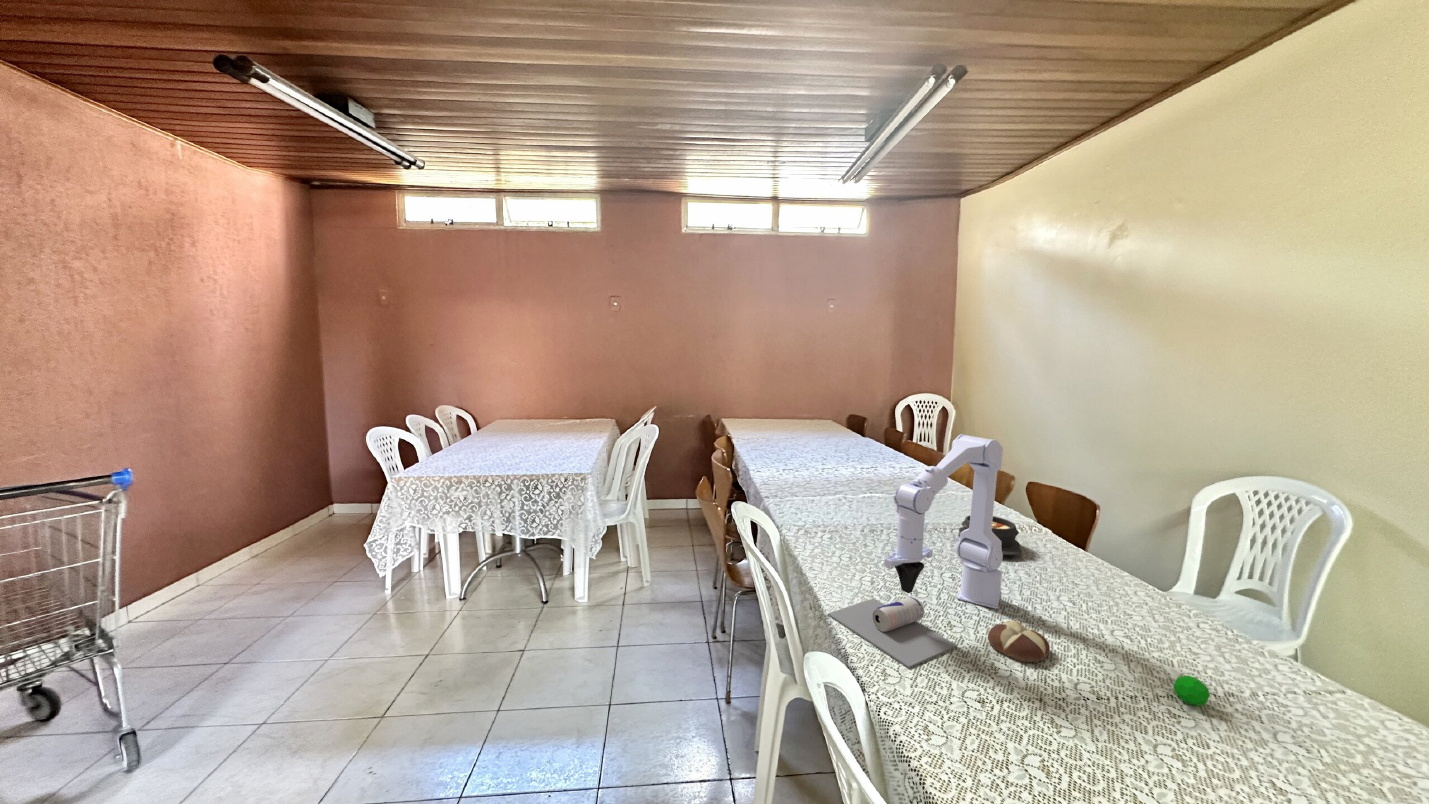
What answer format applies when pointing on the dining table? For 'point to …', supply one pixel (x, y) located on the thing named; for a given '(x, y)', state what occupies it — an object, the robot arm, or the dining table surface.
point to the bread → (1018, 642)
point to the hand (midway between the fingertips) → (906, 591)
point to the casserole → (1001, 534)
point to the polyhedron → (1191, 690)
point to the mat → (893, 635)
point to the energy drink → (898, 614)
